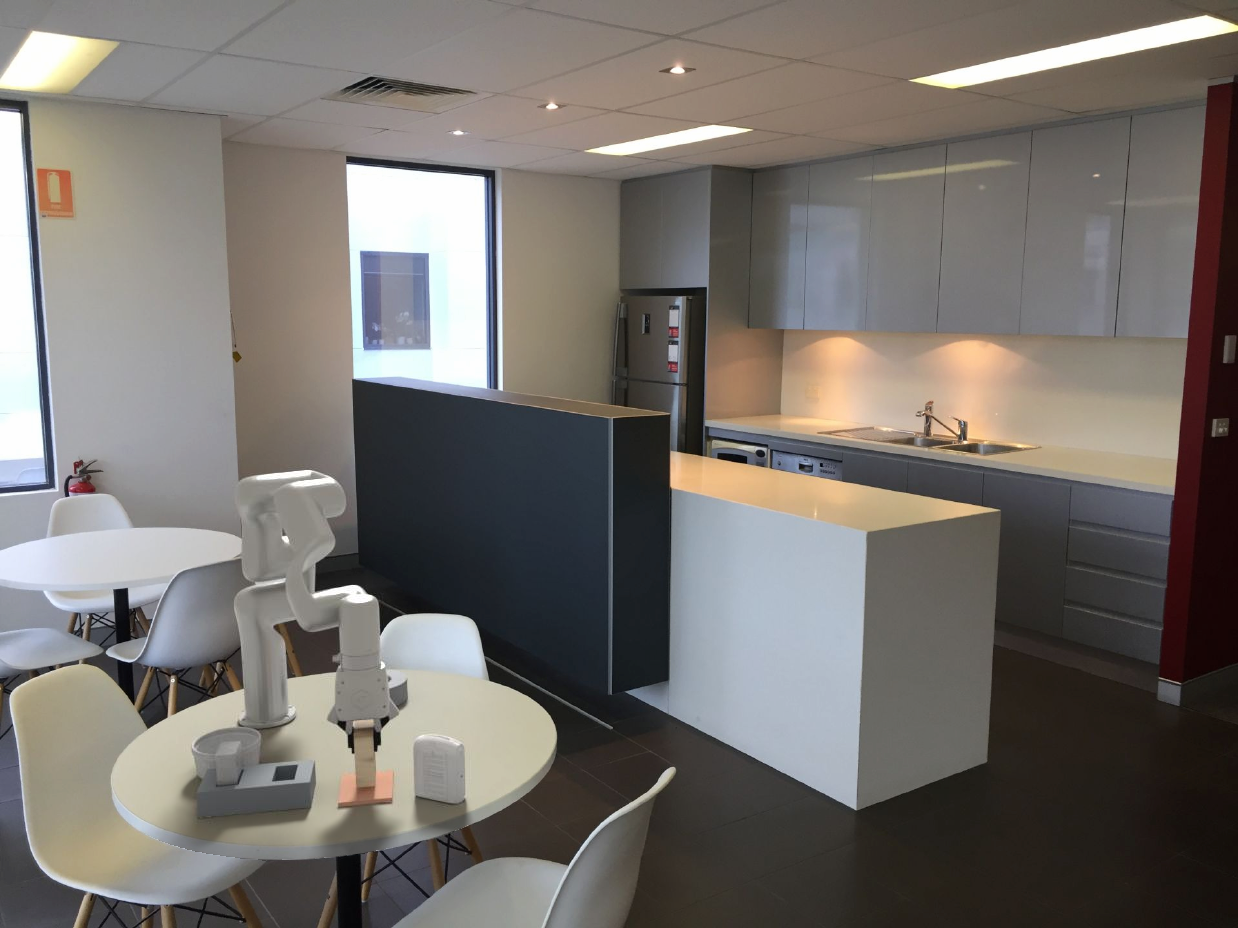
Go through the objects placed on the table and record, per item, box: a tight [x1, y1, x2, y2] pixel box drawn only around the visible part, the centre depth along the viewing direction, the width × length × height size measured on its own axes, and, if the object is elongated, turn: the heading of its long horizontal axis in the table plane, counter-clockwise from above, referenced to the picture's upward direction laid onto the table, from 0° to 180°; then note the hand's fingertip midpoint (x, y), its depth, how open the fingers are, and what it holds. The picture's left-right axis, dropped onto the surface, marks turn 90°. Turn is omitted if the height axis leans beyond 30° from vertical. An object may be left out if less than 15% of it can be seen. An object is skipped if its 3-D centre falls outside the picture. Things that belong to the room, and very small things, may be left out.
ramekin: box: [190, 726, 262, 780], centre depth 202 cm, size 13×13×7 cm
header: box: [196, 758, 317, 818], centre depth 190 cm, size 10×20×5 cm, turn 102°
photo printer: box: [412, 733, 466, 805], centre depth 190 cm, size 10×4×12 cm, turn 69°
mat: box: [337, 769, 395, 808], centre depth 194 cm, size 12×10×1 cm
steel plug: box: [215, 741, 243, 787], centre depth 188 cm, size 6×4×11 cm, turn 12°
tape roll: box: [386, 669, 409, 707], centre depth 240 cm, size 15×15×5 cm
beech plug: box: [353, 719, 377, 788], centre depth 193 cm, size 6×4×11 cm, turn 12°
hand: (364, 748), depth 193 cm, fingers closed on beech plug, 3 cm apart
